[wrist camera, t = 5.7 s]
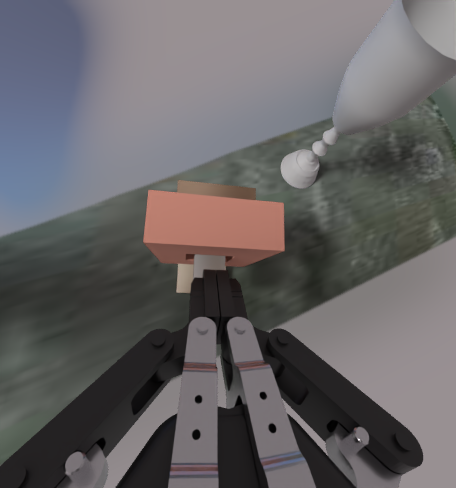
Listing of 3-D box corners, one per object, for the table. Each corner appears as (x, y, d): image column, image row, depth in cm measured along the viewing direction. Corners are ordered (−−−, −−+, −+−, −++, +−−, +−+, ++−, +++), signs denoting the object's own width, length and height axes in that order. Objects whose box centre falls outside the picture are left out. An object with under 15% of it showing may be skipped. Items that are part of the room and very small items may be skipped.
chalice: (284, 136, 31) (413, -61, 13) (329, 159, 31) (507, -2, 14) (266, 182, 29) (387, 22, 12) (313, 205, 30) (496, 85, 12)
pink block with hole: (161, 262, 22) (143, 242, 12) (164, 232, 23) (148, 189, 13) (243, 266, 23) (284, 251, 14) (243, 237, 24) (283, 203, 14)
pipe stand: (176, 292, 25) (169, 295, 13) (181, 228, 26) (178, 180, 14) (223, 293, 25) (255, 297, 14) (225, 231, 27) (255, 188, 15)
